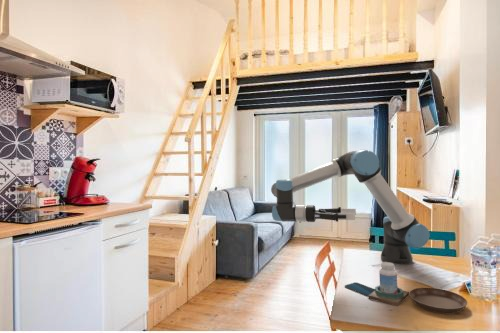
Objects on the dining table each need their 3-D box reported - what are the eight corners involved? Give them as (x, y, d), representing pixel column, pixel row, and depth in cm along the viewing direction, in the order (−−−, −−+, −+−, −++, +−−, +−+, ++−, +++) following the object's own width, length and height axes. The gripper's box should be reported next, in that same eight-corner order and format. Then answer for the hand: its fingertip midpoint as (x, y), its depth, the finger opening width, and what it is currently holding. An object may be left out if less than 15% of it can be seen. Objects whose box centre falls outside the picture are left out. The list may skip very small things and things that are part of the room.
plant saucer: (468, 321, 101) (468, 311, 101) (406, 309, 110) (406, 300, 110) (466, 301, 116) (466, 292, 116) (412, 292, 125) (412, 284, 125)
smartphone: (356, 284, 136) (356, 281, 136) (387, 295, 123) (387, 293, 123) (343, 287, 132) (343, 285, 132) (373, 300, 119) (373, 297, 119)
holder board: (381, 288, 129) (381, 281, 129) (409, 294, 122) (409, 287, 122) (368, 298, 120) (368, 291, 120) (397, 306, 112) (397, 298, 112)
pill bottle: (399, 297, 117) (398, 266, 117) (381, 296, 118) (380, 265, 119) (395, 290, 123) (394, 261, 123) (378, 290, 124) (377, 261, 125)
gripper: (310, 217, 156) (356, 218, 149) (301, 226, 133) (354, 228, 126) (310, 202, 156) (355, 202, 149) (300, 208, 133) (353, 209, 126)
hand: (355, 214), depth 137 cm, fingers open, 13 cm apart
